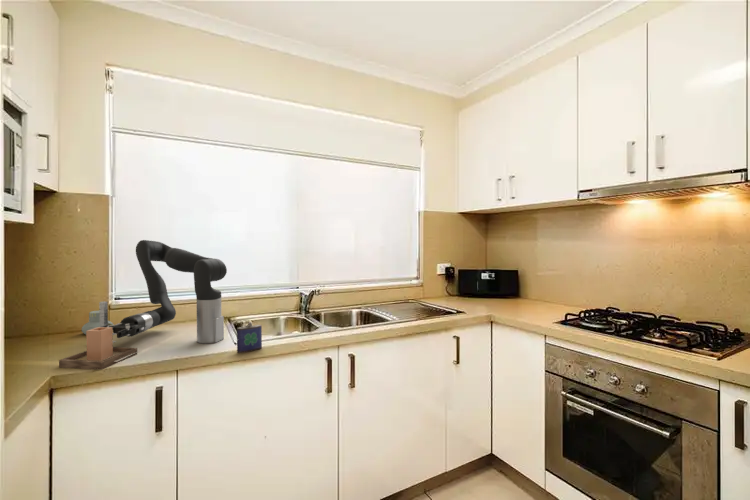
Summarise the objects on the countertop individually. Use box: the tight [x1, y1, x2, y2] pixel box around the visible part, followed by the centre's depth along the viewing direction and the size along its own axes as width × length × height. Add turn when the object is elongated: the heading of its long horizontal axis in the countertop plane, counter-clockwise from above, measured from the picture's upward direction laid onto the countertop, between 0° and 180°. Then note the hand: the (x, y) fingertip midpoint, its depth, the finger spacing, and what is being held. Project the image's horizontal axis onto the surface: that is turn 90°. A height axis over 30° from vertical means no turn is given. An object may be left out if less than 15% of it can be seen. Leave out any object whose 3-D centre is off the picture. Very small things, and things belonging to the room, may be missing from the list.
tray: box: [58, 346, 138, 370], centre depth 124 cm, size 15×15×2 cm
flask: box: [236, 321, 263, 354], centre depth 136 cm, size 9×3×11 cm, turn 130°
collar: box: [85, 327, 114, 361], centre depth 124 cm, size 5×5×10 cm
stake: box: [98, 300, 117, 344], centre depth 141 cm, size 6×6×17 cm
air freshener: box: [81, 310, 114, 336], centre depth 157 cm, size 11×8×10 cm
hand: (105, 335), depth 126 cm, fingers open, 8 cm apart
